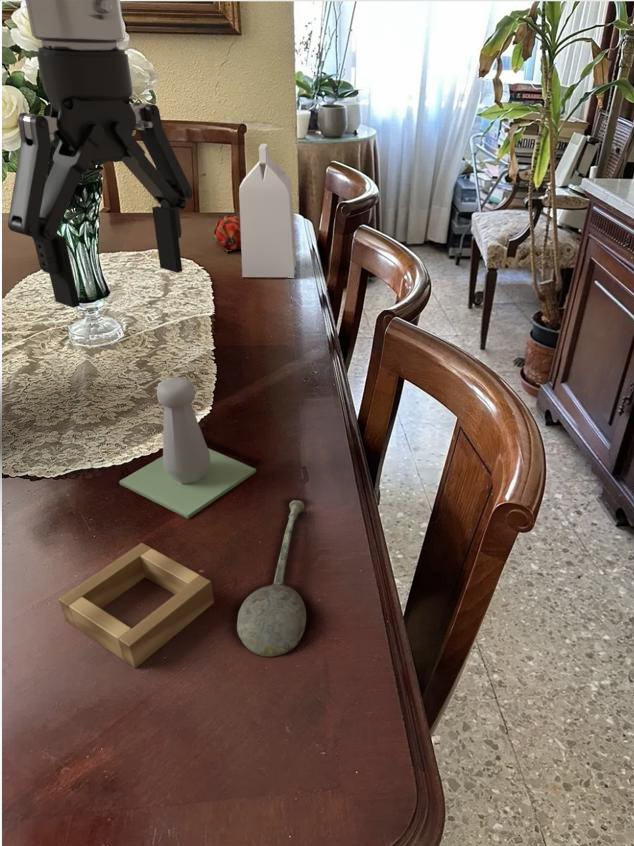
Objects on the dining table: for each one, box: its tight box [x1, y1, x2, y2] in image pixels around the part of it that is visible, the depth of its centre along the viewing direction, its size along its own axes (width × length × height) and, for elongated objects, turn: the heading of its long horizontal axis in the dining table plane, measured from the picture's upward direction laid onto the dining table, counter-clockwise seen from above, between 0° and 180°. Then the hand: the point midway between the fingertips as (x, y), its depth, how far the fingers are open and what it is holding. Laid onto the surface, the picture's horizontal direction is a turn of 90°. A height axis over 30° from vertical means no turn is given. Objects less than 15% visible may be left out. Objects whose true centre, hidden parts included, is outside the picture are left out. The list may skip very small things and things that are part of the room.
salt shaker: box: [156, 376, 210, 484], centre depth 80 cm, size 6×6×13 cm
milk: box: [238, 143, 297, 279], centre depth 145 cm, size 12×12×26 cm
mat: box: [118, 447, 257, 520], centre depth 84 cm, size 12×12×1 cm
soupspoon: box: [236, 499, 307, 658], centre depth 69 cm, size 22×3×7 cm
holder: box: [58, 542, 215, 669], centre depth 64 cm, size 10×10×3 cm
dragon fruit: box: [213, 215, 241, 253], centre depth 163 cm, size 8×8×12 cm
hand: (123, 285), depth 70 cm, fingers open, 13 cm apart
